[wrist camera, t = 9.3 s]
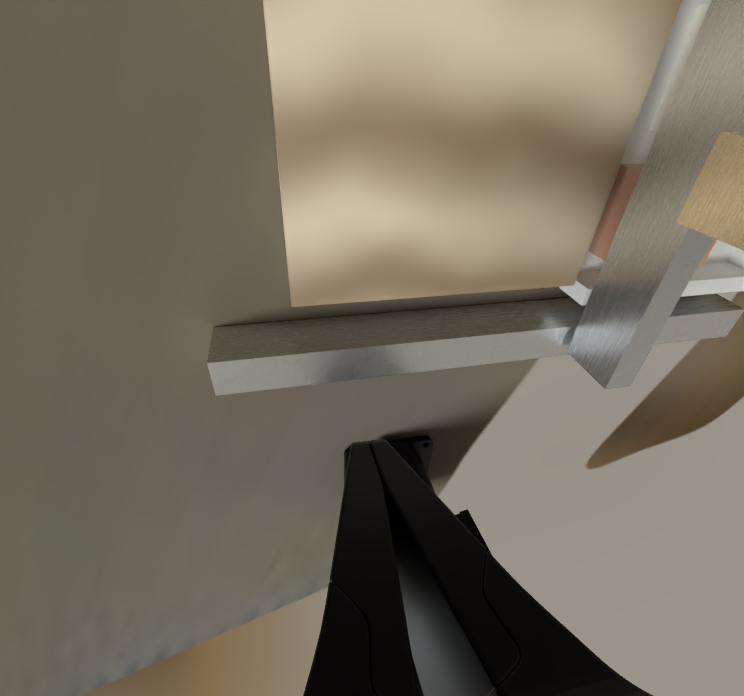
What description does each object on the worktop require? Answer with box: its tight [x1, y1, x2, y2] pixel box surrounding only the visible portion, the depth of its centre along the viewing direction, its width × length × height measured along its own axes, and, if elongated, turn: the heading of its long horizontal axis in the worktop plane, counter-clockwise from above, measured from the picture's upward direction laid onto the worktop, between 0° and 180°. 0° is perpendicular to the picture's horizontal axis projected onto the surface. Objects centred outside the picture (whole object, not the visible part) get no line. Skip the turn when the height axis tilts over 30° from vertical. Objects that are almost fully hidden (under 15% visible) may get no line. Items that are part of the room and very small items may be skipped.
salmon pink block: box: [589, 164, 717, 270], centre depth 20 cm, size 4×4×3 cm
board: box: [263, 0, 682, 307], centre depth 17 cm, size 13×15×2 cm
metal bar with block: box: [567, 0, 744, 389], centre depth 14 cm, size 20×3×7 cm, turn 178°
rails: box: [207, 294, 744, 395], centre depth 17 cm, size 21×31×3 cm
